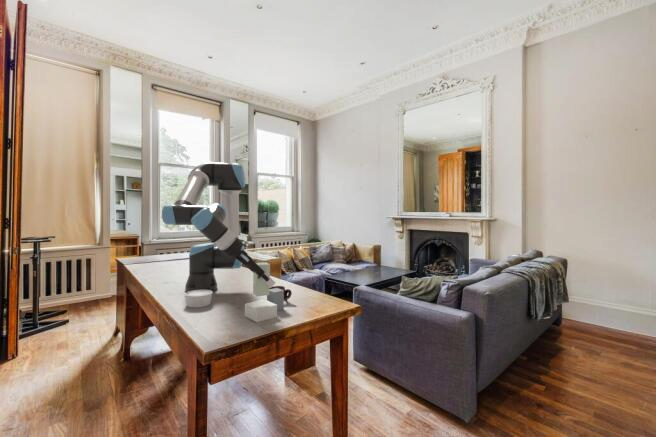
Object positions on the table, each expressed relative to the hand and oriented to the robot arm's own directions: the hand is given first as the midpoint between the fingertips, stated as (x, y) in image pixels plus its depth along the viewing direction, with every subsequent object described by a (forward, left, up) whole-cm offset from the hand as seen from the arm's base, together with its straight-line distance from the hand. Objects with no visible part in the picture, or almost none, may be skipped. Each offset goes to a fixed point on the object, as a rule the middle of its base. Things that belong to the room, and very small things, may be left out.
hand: (270, 283), depth 119 cm
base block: (0, -4, -13) cm, 13 cm away
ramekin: (-25, -24, -13) cm, 37 cm away
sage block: (0, -4, -4) cm, 5 cm away
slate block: (-6, +4, -13) cm, 15 cm away
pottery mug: (-15, +10, -13) cm, 22 cm away
